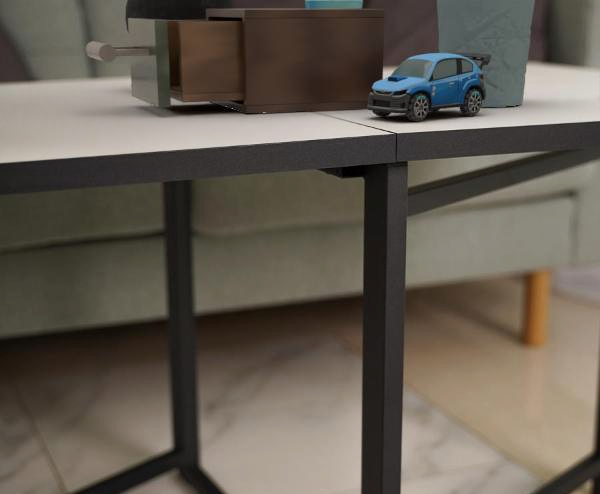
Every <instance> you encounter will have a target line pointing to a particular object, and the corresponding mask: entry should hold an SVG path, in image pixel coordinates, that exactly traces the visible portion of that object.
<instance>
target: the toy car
mask: <svg viewBox="0 0 600 494" xmlns="http://www.w3.org/2000/svg"><path fill="white" fill-rule="evenodd" d="M466 57H473V58H466ZM477 57H478V58H481V59H477ZM472 60H478V61H482V63H481V65H480V66H479V67H478V66H477V65H476V64H475V63H474V62H473V61H472ZM490 60H491V55H490V54H478V53H452V54H450V53H439V52H434V53H433V52H432V53H424V54H418V55H417V54H416V55H413V56H410V57H408V58H407V59H405V60H404V61H402V62H401V64H399V65H398V66H397V67H396V68H395V69H394V70H393V72H392V73H391V74H390V75H389V76H387V77H385V78H383V80H379V81H377V82H375V83H374V84H373V86H372V89H371V93H370V94H369V95H368V106H367V109H366V110H367V111H372V113H373V114H374V115H375V116H377V117H382V118H385V117H388V116H390V115H391V114H401V115H402V114H405V117H406V118H407V119H408V120H409V121H412V122H422V121H423V120H424V119H426V117H427V115H428V114H429V112H438V111H440V110H445V109H454V108H459V110H460V112H461V114H463V116H467V117H468V116H469V117H473V116H476V115H477V114H478V113H479V112H480V111H481V106H482V100H485V98H486V87H485V84H484V80H483V72H482V67H483V66H484V65H488V63H489V62H490Z"/></svg>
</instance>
